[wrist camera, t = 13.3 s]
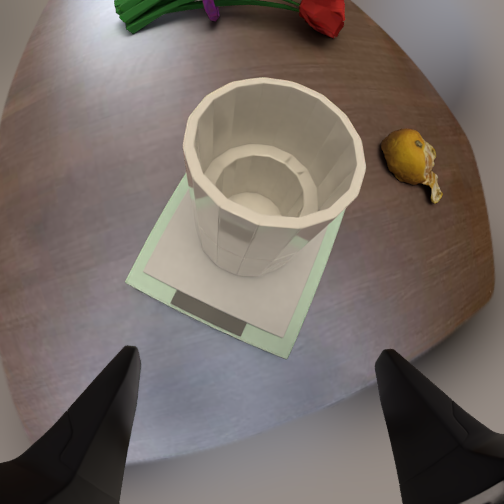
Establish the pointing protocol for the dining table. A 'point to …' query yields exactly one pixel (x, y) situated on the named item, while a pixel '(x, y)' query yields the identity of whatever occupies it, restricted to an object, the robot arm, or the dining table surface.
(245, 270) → the cream faceted cup
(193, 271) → the scale
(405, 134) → the fruit
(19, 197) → the dining table surface
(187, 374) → the dining table surface
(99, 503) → the robot arm
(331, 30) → the bouquet
